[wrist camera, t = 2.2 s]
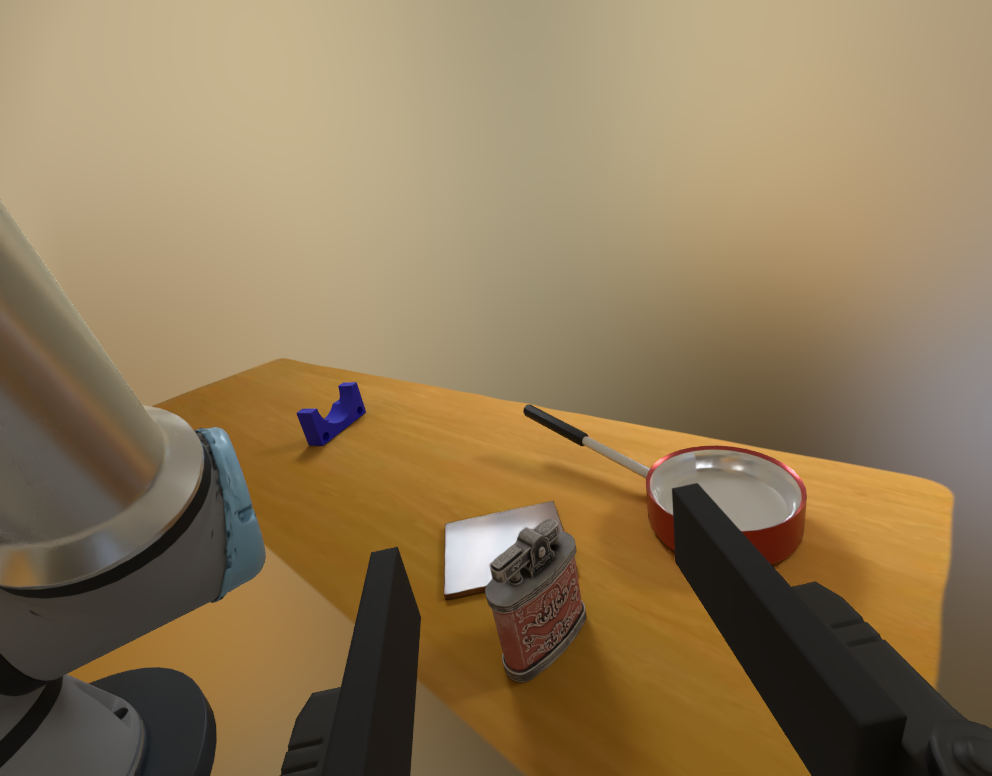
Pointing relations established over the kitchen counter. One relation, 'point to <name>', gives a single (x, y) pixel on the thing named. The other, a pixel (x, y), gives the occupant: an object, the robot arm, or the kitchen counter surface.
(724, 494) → the frying pan
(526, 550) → the lighter
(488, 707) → the kitchen counter surface
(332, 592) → the kitchen counter surface
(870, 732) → the robot arm
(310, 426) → the blue notched block
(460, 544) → the plate
